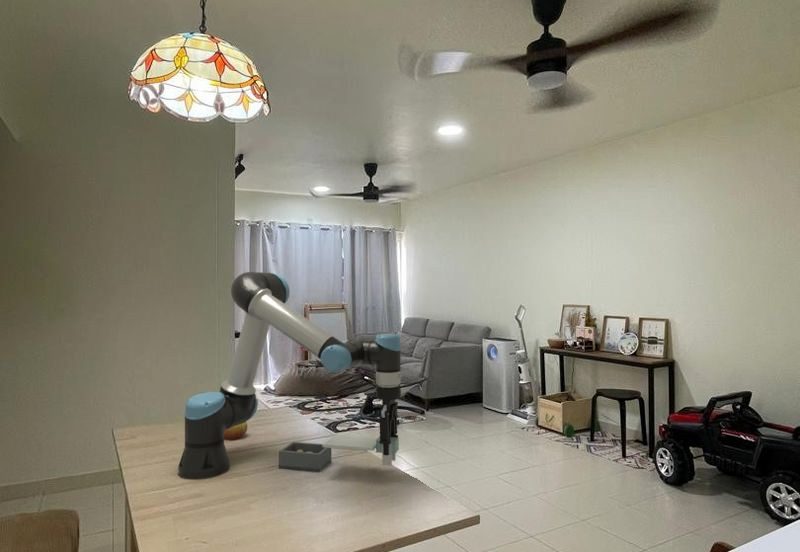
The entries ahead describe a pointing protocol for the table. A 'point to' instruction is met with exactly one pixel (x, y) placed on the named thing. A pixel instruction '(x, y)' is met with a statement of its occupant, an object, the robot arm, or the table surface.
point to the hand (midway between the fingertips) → (389, 462)
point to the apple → (236, 431)
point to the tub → (304, 457)
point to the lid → (359, 443)
